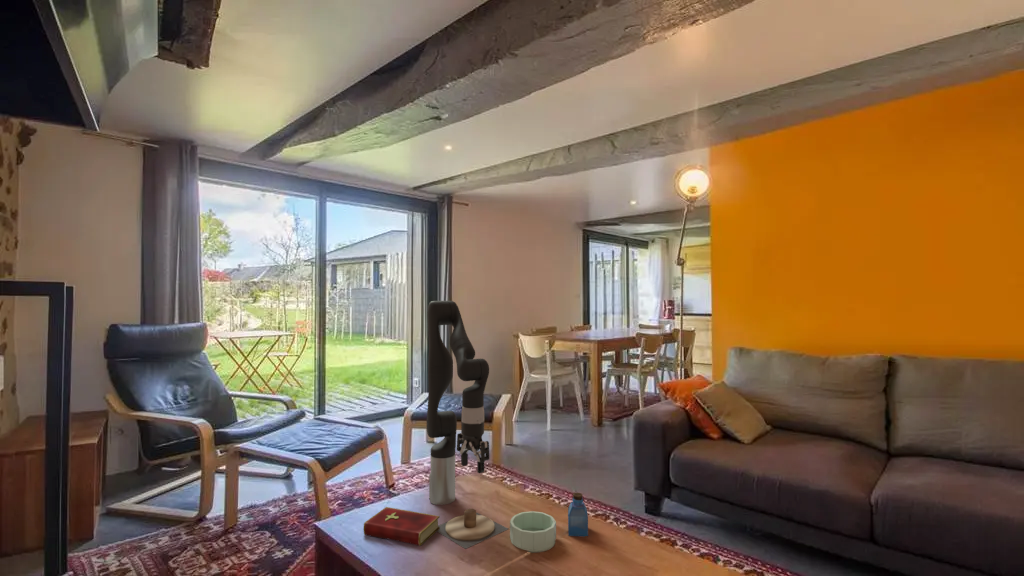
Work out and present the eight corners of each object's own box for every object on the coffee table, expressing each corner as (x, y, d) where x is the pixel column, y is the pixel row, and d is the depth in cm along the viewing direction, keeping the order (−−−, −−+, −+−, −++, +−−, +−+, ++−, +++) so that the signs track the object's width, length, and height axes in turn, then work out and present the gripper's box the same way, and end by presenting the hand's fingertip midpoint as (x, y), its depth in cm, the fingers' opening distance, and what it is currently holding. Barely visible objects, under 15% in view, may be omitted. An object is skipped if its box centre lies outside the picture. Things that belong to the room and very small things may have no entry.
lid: (435, 528, 157) (435, 511, 157) (473, 513, 168) (473, 497, 168) (466, 546, 145) (466, 528, 146) (504, 528, 157) (504, 511, 157)
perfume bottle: (586, 527, 159) (586, 491, 159) (588, 536, 153) (587, 498, 153) (568, 526, 159) (568, 490, 160) (568, 535, 153) (568, 498, 154)
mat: (431, 529, 157) (431, 528, 157) (473, 512, 170) (473, 511, 170) (465, 550, 144) (465, 548, 144) (508, 530, 157) (508, 528, 157)
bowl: (501, 540, 150) (501, 521, 150) (532, 525, 160) (532, 507, 160) (533, 557, 140) (533, 537, 140) (564, 541, 150) (564, 521, 150)
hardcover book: (419, 546, 146) (419, 533, 146) (363, 535, 153) (363, 522, 153) (439, 528, 157) (439, 515, 157) (386, 518, 165) (386, 506, 165)
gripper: (450, 417, 160) (450, 465, 160) (477, 426, 150) (477, 478, 149) (468, 413, 165) (468, 460, 165) (495, 422, 155) (495, 472, 155)
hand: (472, 468), depth 157 cm, fingers open, 8 cm apart
